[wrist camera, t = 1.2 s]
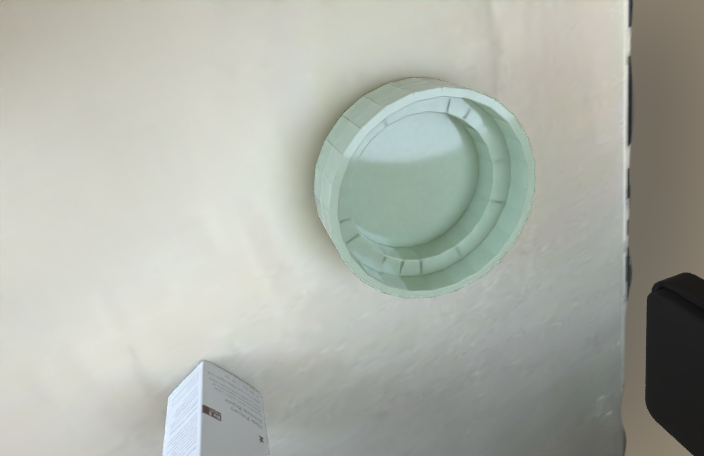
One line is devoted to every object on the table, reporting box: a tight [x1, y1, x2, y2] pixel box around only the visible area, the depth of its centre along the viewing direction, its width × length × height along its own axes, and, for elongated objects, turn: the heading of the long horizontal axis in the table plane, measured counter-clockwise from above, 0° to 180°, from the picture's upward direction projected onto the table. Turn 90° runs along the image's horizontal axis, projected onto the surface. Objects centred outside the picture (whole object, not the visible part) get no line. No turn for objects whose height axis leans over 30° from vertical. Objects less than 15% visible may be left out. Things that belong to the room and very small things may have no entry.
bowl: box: [314, 77, 535, 298], centre depth 37 cm, size 14×14×5 cm
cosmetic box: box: [162, 361, 270, 456], centre depth 36 cm, size 6×4×12 cm
